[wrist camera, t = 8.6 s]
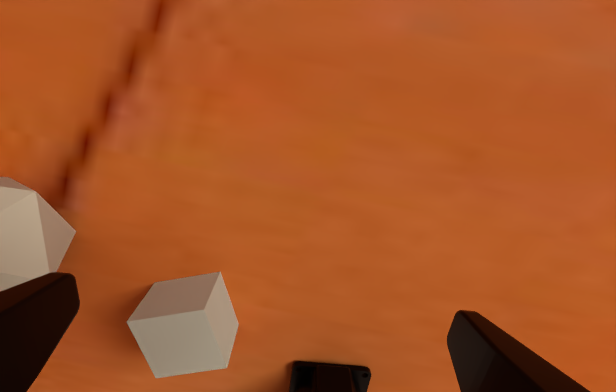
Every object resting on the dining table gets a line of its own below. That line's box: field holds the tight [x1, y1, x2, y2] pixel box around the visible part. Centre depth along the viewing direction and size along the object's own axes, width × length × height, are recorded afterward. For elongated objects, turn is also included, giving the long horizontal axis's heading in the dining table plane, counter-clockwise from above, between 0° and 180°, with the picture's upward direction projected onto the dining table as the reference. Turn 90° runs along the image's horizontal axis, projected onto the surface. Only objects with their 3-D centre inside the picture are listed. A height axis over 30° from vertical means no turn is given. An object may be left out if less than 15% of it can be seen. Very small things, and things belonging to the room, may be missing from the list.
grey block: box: [127, 272, 239, 378], centre depth 22 cm, size 5×5×4 cm
